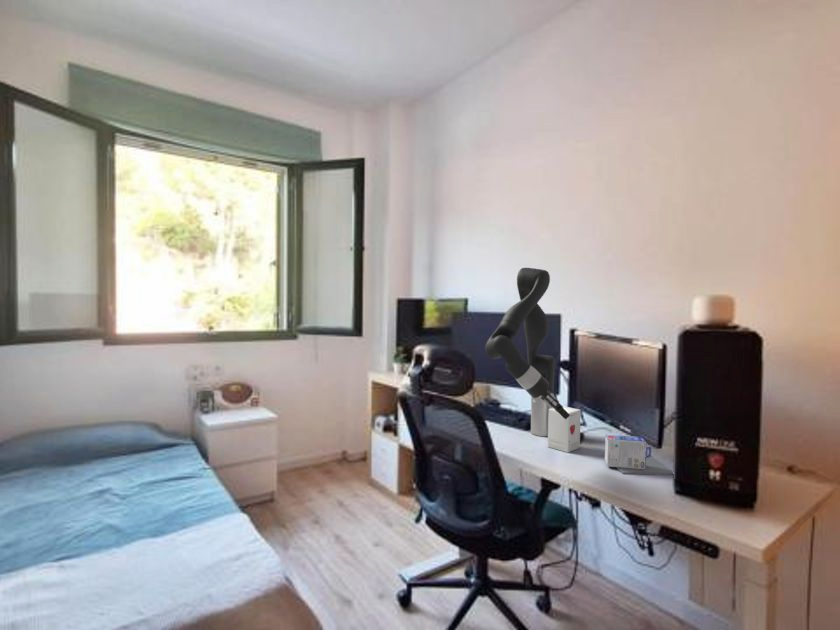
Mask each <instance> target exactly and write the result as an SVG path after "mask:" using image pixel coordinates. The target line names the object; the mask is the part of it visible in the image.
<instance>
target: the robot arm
mask: <svg viewBox="0 0 840 630" xmlns="http://www.w3.org/2000/svg"><path fill="white" fill-rule="evenodd" d="M550 282H551V277H550V273H549V271H547V270H546V269H541V268H540V269H539V268H533V267H521V268H520V269H519V271H518V272H517V276H516V285H517V291H518V295H519V300H520V301H518V302H516V303H515V304H514V305H512V306H511V307H510V308H509V309H508V310H507V311H506V312H505V314H504V315H503V317H502V319H501V321H500V323H499V325H498V326H497V328H496V329H495V331H493V332H492V334H491V335H490V337H489V339H488V340H487V341H486V344H485V346H484V350H485V351H484V352H485V354H486V356H487V357H488V358H489V359H491V360H498V359H501V358H503V360H504V361H505V366H504V367H505V370H506V371H507V373H509V374H510V375H511V376H512V377H513V378H514V379H515V380H516V382H517V383H518V384H519V385H520V386H521V387H522V388H523V389H524V391H526V392H527V393H528V394H529V395H530V397H531V399H530V400H531V401H530V434H532V435H534V436H538V437H548V417H549V409H551V408H554V410H556V412H558V413H559V414H560V415H561V416H562V417H563V418H564V419H567V418H568V417H569V416H570V415H569V414H568V413H567V411H566V410H565V409H564V408H563V407H562V406H563V405H562V404H561V403H560V400H559V399H557V397H555V390H554V389H555V373H556V359H555V357H554V356H552V355H547V354H546V355H543V354H537V351H538V349H539V347H540V346H541V345H542V344H543V343H544V341H545V340H546V339H547V337H548V334H549V323H548V317H547V315H546V314H545V311H544V310H543V309H542V307H541V306H540V305H539V304H538V303H539V301H540V300H541V299H542V298H543V296H544V295H545V294H546V293H547V290H548V288H549V285H550ZM522 326H523V328H524V334H525V335H524V336H525V340H526V341H525V342H526V351H527V353H526V354H527V360H526V359H525V358H524V357H523V356H522V354H521V352H520V350H519V349H518V348H517V345H516V344H515V343H514V341H513V340H512V339H514V338H515V337H516V336H517V335H518V333H519V332H520V330H521V328H522Z"/></svg>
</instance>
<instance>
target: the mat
mask: <svg viewBox="0 0 840 630" xmlns="http://www.w3.org/2000/svg"><path fill="white" fill-rule="evenodd" d="M603 457H604V458H605V454H604V456H603ZM615 468H616V469H617V470H618V472H620V474H622V475H662V474H673V472H674V470H672V469H671V468H670V467H668V466H666V465H665V464H664V463H662V462H661V461H659V460H658V459H656V458H655V457H654V456H652V455H651V457H648V458H646V468H645V470H644V469H634V468H621V467H615Z"/></svg>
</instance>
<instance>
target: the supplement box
mask: <svg viewBox="0 0 840 630" xmlns="http://www.w3.org/2000/svg"><path fill="white" fill-rule="evenodd" d="M562 407H563V408H564V409H565V410H566V411H567V413H568V414H569V415H570V416H569V417H568V418H567V419H564V418H563V417H562V416H561V415H560V414H559V413H558V412H556V410H554V408H551V409H549V417H548V436H547V447H548V448H550V449H555V450H559V451H562V452H564V453H570V452H572V451H575V450H577V449H580V448H581V447H580V446H581V411H582V410H581V409H579V408H576V407H575V408H574V407H569V406H565V405H562Z"/></svg>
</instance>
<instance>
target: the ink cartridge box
mask: <svg viewBox="0 0 840 630" xmlns="http://www.w3.org/2000/svg"><path fill="white" fill-rule="evenodd" d="M604 439H605V440H604V455H605V457H604V462H605V464H606V467H609V468H610V467H612V468H616V467H621V468H634V469H644V470H645V468H646V458H648V457H651V456H652V446H647V441H646V439H645V438H644V437H643V436H633V435H620V434H619V435H618V434H616V435H615V434H605V435H604Z"/></svg>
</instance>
